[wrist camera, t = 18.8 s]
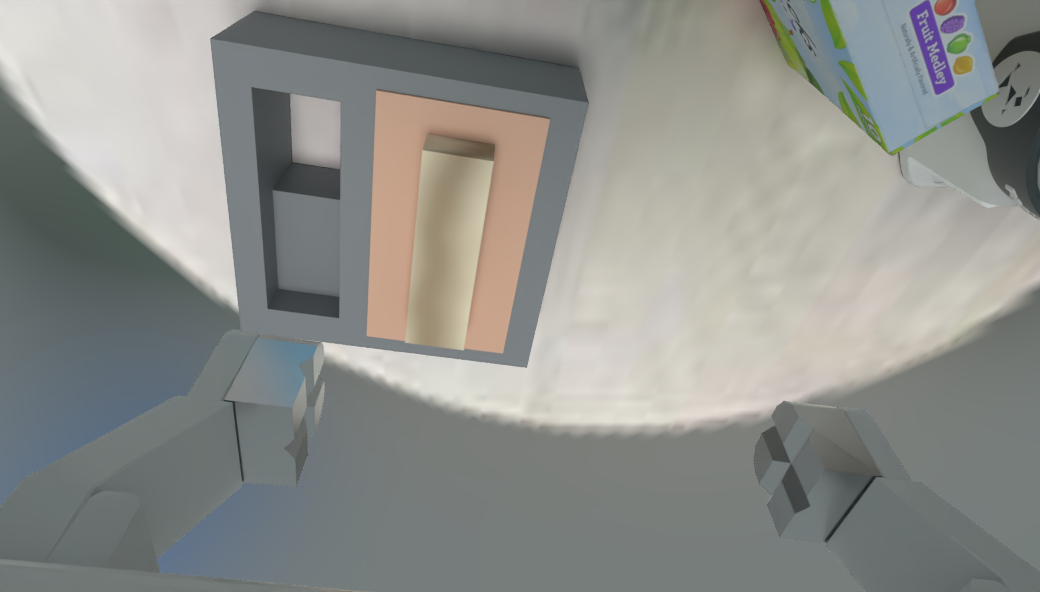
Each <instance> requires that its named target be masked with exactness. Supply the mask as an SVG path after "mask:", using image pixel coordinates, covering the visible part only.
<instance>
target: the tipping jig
mask: <svg viewBox="0 0 1040 592" xmlns="http://www.w3.org/2000/svg"><path fill="white" fill-rule="evenodd" d="M210 41H211V50H212V60H213V69H214V79H215V88H216V98H217V107H218V117H219V126H220V136H221V145H222V155H223V164H224V174H225V183H226V193H227V202H228V211H229V221H230V230H231V240H232V249H233V259H234V268H235V278H236V287H237V297H238V306H239V316H240V324H241V331H244V332H251V333H258V334H268V335H275V336H282V337H288V338H296V339H304V340H312V341H320V342H328V343H335V344H343V345H351V346H359V347H367V348H375V349H383V350H391V351H399V352H407V353H415V354H423V355H430V356H438V357H446V358H454V359H462V360H470V361H478V362H486V363H494V364H502V365H510V366H518V367H525V368H527V364H528V360H529V356H530V351H531V347H532V343H533V339H534V334H535V330H536V326H537V321H538V317H539V313H540V309H541V304H542V300H543V296H544V291H545V287H546V283H547V279H548V274H549V270H550V266H551V262H552V257H553V253H554V249H555V244H556V240H557V236H558V232H559V227H560V223H561V219H562V214H563V210H564V206H565V202H566V197H567V193H568V189H569V184H570V180H571V176H572V172H573V167H574V163H575V159H576V154H577V150H578V146H579V142H580V137H581V133H582V129H583V124H584V120H585V116H586V112H587V107H588V103H589V102H588V99H587V95H586V91H585V88H584V84H583V80H582V77H581V73H580V69H579V68H576V67H571V66H565V65H559V64H554V63H548V62H542V61H536V60H531V59H525V58H519V57H513V56H508V55H502V54H496V53H490V52H485V51H479V50H473V49H468V48H462V47H456V46H450V45H445V44H439V43H433V42H427V41H422V40H416V39H410V38H405V37H399V36H393V35H387V34H382V33H376V32H370V31H364V30H359V29H353V28H347V27H341V26H336V25H330V24H324V23H319V22H313V21H307V20H301V19H296V18H290V17H284V16H278V15H273V14H267V13H261V12H255V11H254V12H252V13H250V14H249V15H247V16H246V17H244V18H243V19H241V20H239V21H238V22H236V23H235V24H233V25H231V26H230V27H228V28H227V29H225V30H223V31H222V32H220V33H219V34H217V35H215V36H214V37H212V38H211V39H210ZM289 93H291V94H297V95H303V96H309V97H316V98H322V99H328V100H334V101H340V102H341V164H340V170H337V169H330V168H324V167H317V166H311V165H304V164H298V163H292V146H291V121H290V95H289ZM427 134H434V135H440V136H446V137H452V138H458V139H464V140H470V141H476V142H483V143H489V144H495V152H494V163H493V170H492V176H491V182H490V188H489V195H488V201H487V207H486V213H485V220H484V226H483V232H482V238H481V245H480V251H479V257H478V263H477V270H476V276H475V282H474V288H473V295H472V301H471V307H470V313H469V320H468V326H467V332H466V338H465V345H464V350H457V349H449V348H442V347H434V346H426V345H419V344H411V343H405V338H406V327H407V316H408V305H409V294H410V282H411V271H412V260H413V249H414V238H415V227H416V216H417V205H418V194H419V183H420V172H421V160H422V150H423V147H424V144H425V140H426V137H427Z"/></svg>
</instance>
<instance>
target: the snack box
mask: <svg viewBox="0 0 1040 592" xmlns="http://www.w3.org/2000/svg"><path fill="white" fill-rule="evenodd" d="M760 2H761V5H762V7H763V9H764V11H765V14H766V16H767V18H768V21H769V23H770V25H771V27H772V30H773V32H774V34H775V37H776V39H777V41H778V44H779V46H780V48H781V50H782V53H783V55H784V57H785V59H786V61H787V63H788V64H789V66H791V67H792V68H793V69H795V70H796V71H797V72H798V73H799V74H801V75H802V76H803V77H804V78H805V79H807V80H808V81H809V82H810V83H811V84H812V85H813V86H815V87H816V88H817V89H818V90H819V91H820V92H821V93H822V94H823V95H825V96H826V97H827V98H828V99H829V100H830V101H831V102H833V103H834V104H835V105H836V106H837V107H838V108H839V109H840V110H841V111H842V112H843V113H845V114H846V115H847V116H848V117H849V118H850V119H851V120H852V121H853V122H854V123H856V124H857V125H858V126H859V127H860V128H861V129H862V130H863V131H865V132H866V133H867V134H868V135H869V136H870V137H871V138H872V139H873V140H874V141H875V142H877V143H878V144H879V145H880V146H881V147H882V148H883V149H884V150H885V151H886V152H887V153H888V154H889V155H892V156H893V155H895V154H896V153H898V152H900V151H901V150H903V149H905V148H906V147H908V146H910V145H912V144H913V143H915V142H917V141H919V140H921V139H922V138H924V137H926V136H928V135H929V134H931V133H933V132H935V131H936V130H938V129H940V128H942V127H943V126H945V125H947V124H949V123H951V122H952V121H954V120H956V119H958V118H960V117H961V116H963V115H965V114H966V113H968V112H970V111H971V110H973V109H975V108H977V107H979V106H981V105H982V104H984V103H986V102H988V101H990V100H991V99H993V98H995V97H996V96H998V95H999V94H1000V92H999V87H998V83H997V80H996V76H995V73H994V69H993V66H992V62H991V59H990V55H989V51H988V48H987V44H986V40H985V37H984V33H983V29H982V25H981V22H980V18H979V14H978V11H977V7H976V3H975V0H760Z"/></svg>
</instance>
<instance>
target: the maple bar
mask: <svg viewBox="0 0 1040 592" xmlns="http://www.w3.org/2000/svg"><path fill="white" fill-rule="evenodd" d="M494 152H495V144H489V143H483V142H476V141H470V140H464V139H458V138H452V137H446V136H440V135H434V134H427V137H426V140H425V144H424V147H423V150H422V160H421V172H420V183H419V194H418V205H417V216H416V227H415V238H414V249H413V260H412V271H411V282H410V294H409V305H408V316H407V327H406V338H405V343H411V344H419V345H426V346H434V347H442V348H449V349H457V350H464V345H465V338H466V332H467V326H468V320H469V313H470V307H471V301H472V295H473V288H474V282H475V276H476V270H477V263H478V257H479V251H480V245H481V238H482V232H483V226H484V220H485V213H486V207H487V201H488V195H489V188H490V182H491V176H492V170H493V163H494Z"/></svg>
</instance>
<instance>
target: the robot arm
mask: <svg viewBox="0 0 1040 592" xmlns="http://www.w3.org/2000/svg"><path fill="white" fill-rule="evenodd" d="M975 3H976V7H977V11H978V14H979V18H980V22H981V25H982V29H983V33H984V37H985V40H986V44H987V48H988V51H989V55H990V59H991V62H992V66H993V69H994V73H995V76H996V80H997V83H998V87H999V92H1000V94H999V95H998V96H996V97H995V98H993V99H991V100H990V101H988V102H986V103H984V104H982V105H981V106H979V107H977V108H975V109H973V110H971V111H970V112H968V113H966V114H965V115H963V116H961V117H960V118H958V119H956V120H954V121H952V122H951V123H949V124H947V125H945V126H943V127H942V128H940V129H938V130H936V131H935V132H933V133H931V134H929V135H928V136H926V137H924V138H922V139H921V140H919V141H917V142H915V143H913V144H912V145H910V146H908V147H906V148H905V149H903V150H901V151H900V152H899V155H900V165H901V171H902V174H903V177H904V178H905V180H906V181H908V182H909V183H911V184H913V185H914V186H917V187H952V188H954V189H955V190H957V191H958V192H960V193H962V194H963V195H965V196H966V197H968V198H969V199H971V200H973V201H974V202H976V203H977V204H979V205H981V206H984V207H987V208H993V207H995V206H997V205H1000V206H1017V205H1018V206H1020V207H1021V208H1022V209H1023V210H1025V211H1026V212H1028V213H1029V214H1031V215H1032V216H1034V217H1036V218H1037V219H1039V220H1040V0H975ZM323 362H324V347H323V344H322V343H321V342H315V341H308V340H302V339H295V338H288V337H282V336H275V335H268V334H258V333H251V332H244V331H237V330H230V331H228V332H227V333H225V334H224V335H223V337H222V338H221V340H220V342H219V344H218V345H217V347H216V348H215V350H214V352H213V353H212V355H211V357H210V358H209V360H208V362H207V363H206V365H205V366H204V368H203V370H202V371H201V373H200V375H199V376H198V378H197V379H196V381H195V383H194V384H193V386H192V388H191V389H190V391H189V393H188V394H187V396H186V397H182V396H176V397H173V398H172V399H170V400H168V401H166V402H164V403H162V404H160V405H159V406H157V407H155V408H153V409H151V410H149V411H148V412H146V413H144V414H142V415H140V416H138V417H136V418H135V419H133V420H131V421H129V422H127V423H125V424H124V425H122V426H120V427H118V428H116V429H114V430H113V431H111V432H109V433H107V434H105V435H103V436H101V437H100V438H98V439H96V440H94V441H92V442H90V443H89V444H87V445H85V446H83V447H81V448H79V449H78V450H76V451H74V452H72V453H70V454H68V455H67V456H65V457H63V458H61V459H59V460H57V461H55V462H54V463H52V464H50V465H48V466H46V467H44V468H43V469H41V470H39V471H37V472H35V473H33V474H31V475H30V476H28V477H26V478H24V479H22V481H21V482H20V483H19V485H18V486H17V487H16V488H15V490H14V491H13V492H12V493H11V495H10V496H9V497H8V498H7V500H6V501H5V502H4V503H3V505H2V506H1V507H0V592H368V591H358V590H357V591H356V590H346V589H335V588H323V587H313V586H302V585H291V584H279V583H269V582H258V581H247V580H234V579H224V578H213V577H202V576H191V575H180V574H168V573H160V570H159V565H158V562H157V559H158V558H159V557H160V556H161V555H162V554H163V553H165V552H166V551H167V550H168V549H169V548H170V547H172V546H173V545H174V544H175V543H176V542H177V541H179V540H180V539H181V538H182V537H183V536H184V535H185V534H187V533H188V532H189V531H190V530H191V529H192V528H194V527H195V526H196V525H197V524H198V523H199V522H201V521H202V520H203V519H204V518H205V517H206V516H208V515H209V514H210V513H211V512H212V511H213V510H215V509H216V508H217V507H218V506H219V505H220V504H222V503H223V502H224V501H225V500H226V499H227V498H229V497H230V496H231V495H232V494H233V493H234V492H236V491H237V490H238V489H239V488H240V487H241V486H242V482H243V483H256V484H269V485H281V486H294V487H295V486H297V484H298V481H299V478H300V475H301V472H302V470H303V467H304V464H305V461H306V458H307V456H308V438H310V437H311V436H313V435H314V434H315V433H316V429H317V426H318V423H319V420H320V416H321V411H322V406H323V399H324V379H323V378H322V377H321V376H320V375H319V373H320V370H321V368H322V365H323ZM772 419H773V422H774V425H775V426H773V427H771V428H770V429H768V430H766V431H765V432H763V433H762V434H761V436H760V438H759V440H758V442H757V444H756V446H755V453H754V468H755V473H756V476H757V479H758V481H759V484H760V485H761V486H762V487H763V488H764V489H765V490H767V492H768V493H769V494H770V495H771V497H770V500H769V502H768V504H767V506H768V508H769V511H770V514H771V516H772V519H773V521H774V524H775V527H776V529H777V532H778V534H779V537H781V538H789V539H796V540H804V541H811V542H819V543H826V545H825V546H826V548H827V549H828V550H829V551H830V552H831V553H832V554H833V555H834V556H835V557H836V559H837V560H838V561H839V562H840V563H841V564H842V565H843V566H844V568H845V569H846V570H847V571H848V572H849V573H850V574H851V575H852V576H853V578H854V579H855V580H856V581H857V582H858V583H859V584H860V585H861V586H862V588H863V589H864V590H865V591H866V592H1040V572H1039V571H1038V570H1037V569H1036V568H1034V567H1033V566H1031V565H1030V564H1029V563H1028V562H1026V561H1025V560H1024V559H1022V558H1021V557H1020V556H1018V555H1017V554H1016V553H1014V552H1013V551H1012V550H1010V549H1009V548H1008V547H1006V546H1005V545H1004V544H1003V543H1001V542H1000V541H998V540H997V539H996V538H994V537H993V536H992V535H991V534H989V533H988V532H987V531H985V530H984V529H983V528H981V527H980V526H979V525H977V524H976V523H975V522H973V521H972V520H971V519H969V518H968V517H967V516H965V515H964V514H963V513H961V512H960V511H959V510H957V509H956V508H955V507H953V506H952V505H951V504H949V503H948V502H947V501H945V500H944V499H942V498H941V497H940V496H939V495H937V494H936V493H935V492H933V491H932V490H931V489H929V488H928V487H927V486H925V485H924V484H923V483H921V482H914V481H912V479H911V478H910V476H909V474H908V473H907V471H906V469H905V468H904V466H903V465H902V463H901V461H900V460H899V458H898V457H897V455H896V453H895V452H894V450H893V449H892V447H891V446H890V444H889V442H888V441H887V439H886V437H885V436H884V434H883V433H882V431H881V429H880V428H879V426H878V425H877V423H876V422H875V420H874V418H873V417H872V416H871V414H869V413H868V412H867V411H865V410H861V409H851V408H842V407H836V408H835V407H829V406H821V405H813V404H805V403H796V402H788V401H783V402H782V403H781V404H779V405H778V406H777V407H776V409H775V411H774V412H773V414H772Z"/></svg>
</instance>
